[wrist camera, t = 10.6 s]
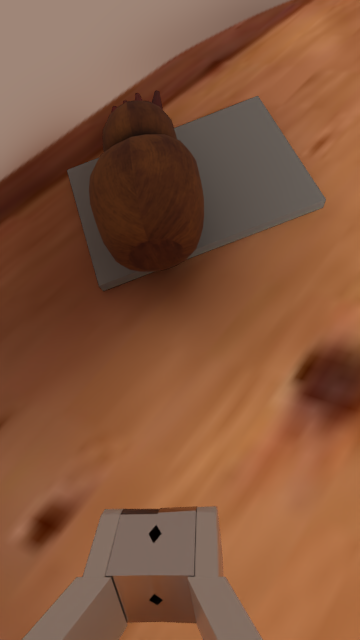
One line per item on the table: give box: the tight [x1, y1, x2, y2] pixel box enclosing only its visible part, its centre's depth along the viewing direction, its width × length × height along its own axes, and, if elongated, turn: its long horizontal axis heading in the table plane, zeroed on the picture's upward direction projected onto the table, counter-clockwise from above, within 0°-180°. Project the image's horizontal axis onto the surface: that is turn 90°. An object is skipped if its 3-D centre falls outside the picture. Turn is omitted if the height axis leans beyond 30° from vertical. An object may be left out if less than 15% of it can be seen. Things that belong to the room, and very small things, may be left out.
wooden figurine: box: [89, 91, 204, 272], centre depth 22 cm, size 7×6×15 cm
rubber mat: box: [67, 96, 326, 291], centre depth 25 cm, size 11×16×1 cm
